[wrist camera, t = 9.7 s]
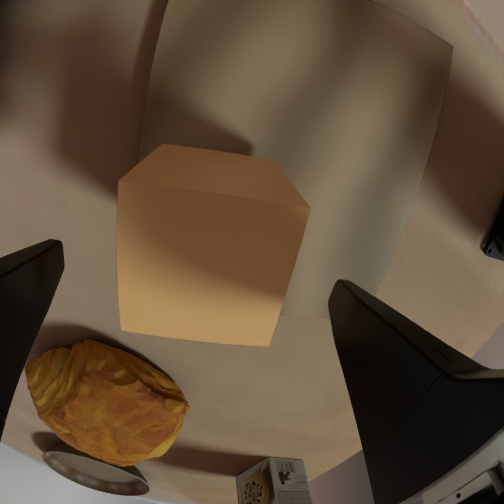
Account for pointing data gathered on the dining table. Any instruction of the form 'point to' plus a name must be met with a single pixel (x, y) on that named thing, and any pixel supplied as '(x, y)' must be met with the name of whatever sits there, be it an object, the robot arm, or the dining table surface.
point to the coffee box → (274, 483)
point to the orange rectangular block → (206, 245)
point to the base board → (308, 117)
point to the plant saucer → (95, 472)
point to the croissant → (106, 402)
